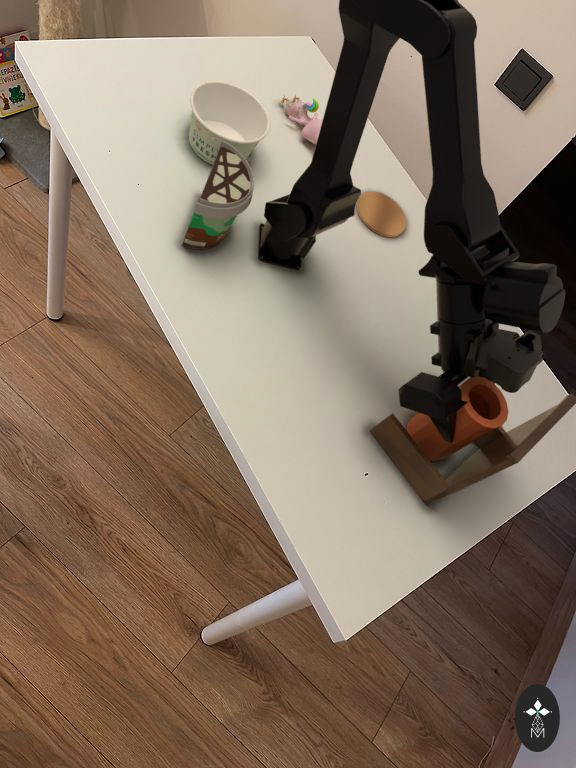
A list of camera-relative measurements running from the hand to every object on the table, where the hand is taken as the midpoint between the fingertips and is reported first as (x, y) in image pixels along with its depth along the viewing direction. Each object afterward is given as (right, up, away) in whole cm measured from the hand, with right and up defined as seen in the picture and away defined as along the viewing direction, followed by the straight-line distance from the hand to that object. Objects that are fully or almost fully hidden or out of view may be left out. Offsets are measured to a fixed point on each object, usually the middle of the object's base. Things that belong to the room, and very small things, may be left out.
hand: (464, 427), depth 76 cm
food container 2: (-33, +27, +7) cm, 43 cm away
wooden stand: (-3, -2, +6) cm, 7 cm away
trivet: (-7, +33, +23) cm, 41 cm away
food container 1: (-33, +42, +15) cm, 55 cm away
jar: (-3, -2, +6) cm, 7 cm away
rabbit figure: (-19, +47, +25) cm, 56 cm away
